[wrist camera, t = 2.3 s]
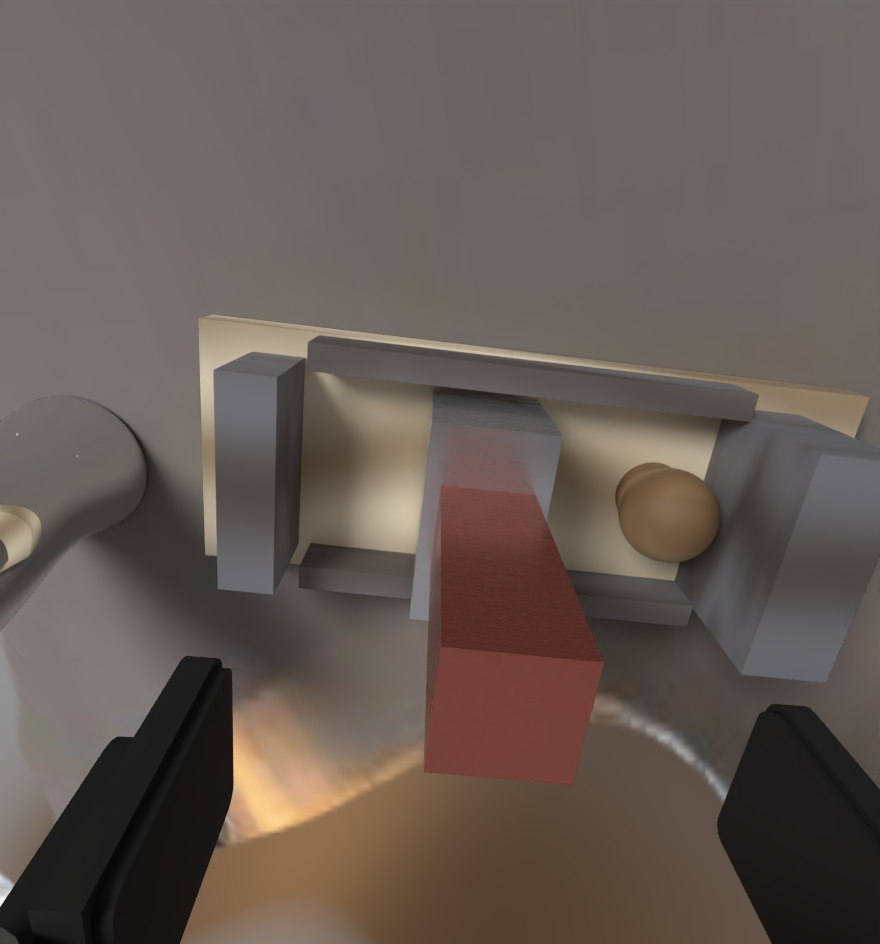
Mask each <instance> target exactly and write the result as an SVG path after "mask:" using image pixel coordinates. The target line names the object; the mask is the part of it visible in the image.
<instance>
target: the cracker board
mask: <svg viewBox="0 0 880 944" xmlns="http://www.w3.org/2000/svg"><path fill="white" fill-rule="evenodd" d="M199 350H200V386H201V421H202V457H203V493H204V529H205V555H211V556H217V581H218V589H222V590H232V591H242V592H252V593H262V594H272V595H273V594H274V592H275V590H276V588H277V586H278V584H279V582H280V580H281V578H282V576H283V574H284V572H285V570H286V568H287V566H288V564H289V563H290V564H299V565H300V570H299V588H304V589H314V590H323V591H333V592H343V593H353V594H363V595H373V596H383V597H393V598H403V599H411V593H412V581H413V569H414V558H415V547H416V538H417V530H418V521H419V512H420V503H421V494H422V486H423V477H424V468H425V459H426V450H427V442H428V433H429V424H430V415H431V406H432V397H433V389H434V388H442V389H451V390H460V391H469V392H477V393H486V394H495V395H503V396H512V397H521V398H529V399H537V400H538V402H539V403H540V404H541V406H542V407H543V409H544V410H545V411H546V413H547V414H548V416H549V417H550V418H551V420H552V421H553V423H554V424H555V425H556V427H557V428H558V430H559V431H560V432H561V434H562V435H563V440H562V445H561V450H560V456H559V461H558V466H557V471H556V476H555V481H554V486H553V491H552V496H551V501H550V506H549V511H548V516H547V521H546V522H547V524H548V527H549V529H550V532H551V534H552V537H553V539H554V541H555V544H556V546H557V549H558V551H559V554H560V556H561V558H562V561H563V563H564V566H565V568H566V571H567V573H568V576H569V578H570V580H571V583H572V585H573V588H574V590H575V593H576V595H577V597H578V600H579V602H580V605H581V607H582V610H583V612H584V614H585V617H593V618H603V619H613V620H623V621H633V622H643V623H653V624H663V625H673V626H683V627H687V625H688V622H689V618H690V615H691V612H692V609H693V610H694V611H695V612H696V614H697V615H698V616H699V618H700V619H701V620H702V622H703V623H704V625H705V626H706V627H707V629H708V630H709V631H710V633H711V634H712V635H713V637H714V638H715V640H716V641H717V642H718V644H719V645H720V646H721V648H722V649H723V651H724V652H725V653H726V655H727V656H728V657H729V659H730V660H731V661H732V663H733V664H734V666H735V667H736V668H737V670H738V671H739V672H740V674H741V675H750V676H761V677H771V678H781V679H792V680H802V681H812V682H822V683H826V681H827V679H828V676H829V674H830V672H831V669H832V667H833V665H834V662H835V660H836V658H837V655H838V653H839V651H840V648H841V646H842V644H843V641H844V639H845V637H846V634H847V632H848V630H849V627H850V625H851V623H852V620H853V618H854V616H855V613H856V611H857V609H858V606H859V604H860V602H861V599H862V597H863V595H864V592H865V590H866V588H867V585H868V583H869V581H870V578H871V576H872V574H873V571H874V569H875V567H876V564H877V562H878V560H879V557H880V449H879V448H877V447H874V446H872V445H870V444H867V443H865V442H863V441H860V440H858V439H855V435H856V432H857V430H858V427H859V425H860V422H861V419H862V417H863V414H864V411H865V409H866V406H867V404H868V401H869V398H870V397H867V396H864V395H861V394H858V393H854V392H851V391H848V390H845V389H837V388H828V387H820V386H811V385H803V384H795V383H786V382H778V381H769V380H761V379H752V378H744V377H735V376H727V375H718V374H710V373H702V372H693V371H685V370H676V369H668V368H659V367H651V366H642V365H634V364H625V363H617V362H609V361H600V360H592V359H583V358H575V357H566V356H558V355H549V354H541V353H532V352H524V351H515V350H507V349H499V348H490V347H482V346H473V345H465V344H456V343H448V342H439V341H431V340H422V339H414V338H406V337H397V336H389V335H380V334H372V333H363V332H355V331H346V330H338V329H329V328H321V327H312V326H304V325H296V324H287V323H279V322H270V321H262V320H253V319H245V318H236V317H228V316H219V315H211V316H206V317H202V318H199ZM650 462H657V463H662V464H665V465H668V466H670V467H671V468H676V469H681V470H684V471H688V472H690V473H692V474H694V475H696V476H697V477H699V478H700V479H702V480H703V481H704V482H705V483H706V484H707V485H708V486H709V487H710V488H711V490H712V491H713V493H714V495H715V496H716V498H717V501H718V504H719V509H720V525H719V529H718V532H717V535H716V536H715V538H714V540H713V542H712V543H711V544H710V546H709V547H708V548H707V549H706V550H705V551H703V552H702V553H701V554H699V555H698V556H696V557H694V558H692V559H689V560H686V561H682V562H676V563H666V562H659V561H655V560H652V559H650V558H648V557H645V556H644V555H642V554H640V553H639V552H638V551H636V550H635V549H634V548H633V547H632V546H631V545H630V544H629V542H628V541H627V540H626V538H625V537H624V535H623V532H622V530H621V527H620V523H619V516H618V514H619V510H618V508H617V506H616V501H615V493H616V489H617V486H618V484H619V482H620V480H621V479H622V477H623V476H624V475H625V474H626V473H627V472H628V471H630V470H631V469H632V468H634V467H636V466H638V465H641V464H644V463H650Z"/></svg>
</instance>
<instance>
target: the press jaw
mask: <svg viewBox="0 0 880 944" xmlns="http://www.w3.org/2000/svg"><path fill="white" fill-rule="evenodd" d="M562 440H563V435H562V434H561V432H560V431H559V430H558V428H557V427H556V425H555V424H554V423H553V421H552V420H551V418H550V417H549V416H548V414H547V413H546V411H545V410H544V409H543V407H542V406H541V404H540V403H539V402H538V400H537V399H529V398H521V397H512V396H503V395H495V394H486V393H477V392H469V391H460V390H451V389H442V388H434V389H433V397H432V406H431V415H430V424H429V433H428V442H427V450H426V459H425V468H424V477H423V486H422V494H421V503H420V512H419V521H418V530H417V538H416V547H415V558H414V569H413V581H412V593H411V604H410V616H409V619H414V620H424V621H428V652H427V683H426V713H425V744H424V772H431V773H441V774H452V775H465V776H475V777H486V778H497V779H498V778H499V779H509V780H520V781H532V782H543V783H555V784H565V785H572V784H573V781H574V777H575V773H576V769H577V765H578V761H579V758H580V754H581V750H582V746H583V742H584V738H585V734H586V731H587V727H588V723H589V719H590V715H591V712H592V708H593V704H594V700H595V696H596V692H597V688H598V685H599V681H600V677H601V673H602V669H603V665H604V661H603V658H602V656H601V653H600V651H599V649H598V646H597V644H596V641H595V639H594V636H593V634H592V632H591V629H590V627H589V624H588V622H587V619H586V617H585V614H584V612H583V610H582V607H581V605H580V602H579V600H578V597H577V595H576V593H575V590H574V588H573V585H572V583H571V580H570V578H569V576H568V573H567V571H566V568H565V566H564V563H563V561H562V558H561V556H560V554H559V551H558V549H557V546H556V544H555V541H554V539H553V537H552V534H551V532H550V529H549V527H548V524H547V522H546V521H547V516H548V511H549V506H550V501H551V496H552V491H553V486H554V481H555V476H556V471H557V466H558V461H559V456H560V450H561V445H562Z"/></svg>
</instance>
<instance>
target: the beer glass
mask: <svg viewBox="0 0 880 944" xmlns="http://www.w3.org/2000/svg"><path fill="white" fill-rule="evenodd" d="M146 484H147V467H146V461H145V458H144V454H143V452H142V449H141V447H140V445H139V443H138V441H137V439H136V438H135V436H134V435H133V433H132V432H131V431H130V430H129V428H128V427H127V426H126V425H125V424H124V423H123V422H122V421H121V420H120V419H119V418H118V417H116V416H115V415H114V414H113V413H111V412H110V411H108V410H107V409H105V408H103V407H102V406H100V405H98V404H96V403H93V402H91V401H88V400H85V399H82V398H78V397H72V396H50V397H44V398H40V399H37V400H34V401H31V402H29V403H27V404H25V405H23V406H21V407H20V408H18V409H17V410H15V411H14V412H12V413H11V414H9V415H8V416H6V417H5V418H3V419H2V420H1V421H0V632H1V631H2V629H3V628H4V627H5V626H6V625H7V624H8V623H9V622H10V621H11V620H12V618H13V617H14V616H15V615H16V614H17V612H18V611H19V610H20V609H21V607H22V606H23V605H24V604H25V603H26V601H27V600H28V599H29V598H30V596H31V595H32V594H33V593H34V592H35V590H36V589H37V588H38V587H39V585H40V584H41V583H42V582H43V580H44V579H45V578H46V576H47V575H48V574H49V573H50V571H51V570H52V569H53V568H54V566H55V565H56V564H57V563H58V562H59V561H60V559H61V558H62V557H63V556H64V555H65V554H66V553H67V552H68V551H69V550H70V549H71V548H72V547H73V546H74V545H76V544H77V543H78V542H80V541H81V540H83V539H85V538H87V537H88V536H91V535H93V534H95V533H98V532H100V531H102V530H104V529H107V528H109V527H111V526H113V525H115V524H117V523H119V522H120V521H122V520H123V519H125V518H126V517H127V516H129V515H130V514H131V513H132V512H133V511H134V510H135V508H136V507H137V506H138V504H139V503H140V501H141V499H142V497H143V495H144V492H145V488H146Z"/></svg>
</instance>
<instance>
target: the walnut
mask: <svg viewBox="0 0 880 944" xmlns="http://www.w3.org/2000/svg"><path fill="white" fill-rule="evenodd" d="M615 501H616V506H617V508H618V510H619V514H618V516H619V523H620V527H621V530H622V532H623V535H624V537H625V538H626V540H627V541H628V542H629V544H630V545H631V546H632V547H633V548H634V549H635V550H636V551H638V552H639V553H640V554H642V555H644V556H645V557H648V558H650V559H652V560H655V561H659V562H666V563H676V562H682V561H686V560H689V559H692V558H694V557H696V556H698V555H699V554H701V553H702V552H703V551H705V550H706V549H707V548H708V547H709V546H710V544H711V543H712V542H713V540H714V538H715V536H716V535H717V532H718V529H719V525H720V509H719V504H718V501H717V498H716V496H715V495H714V493H713V491H712V490H711V488H710V487H709V486H708V485H707V484H706V483H705V482H704V481H703V480H702V479H700V478H699V477H697V476H696V475H694V474H692V473H690V472H688V471H684V470H681V469H676V468H671V467H670V466H668V465H665V464H662V463H657V462H650V463H644V464H641V465H638V466H636V467H634V468H632V469H631V470H630V471H628V472H627V473H626V474H625V475H624V476H623V477H622V479H621V480H620V482H619V484H618V486H617V489H616V493H615Z"/></svg>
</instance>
